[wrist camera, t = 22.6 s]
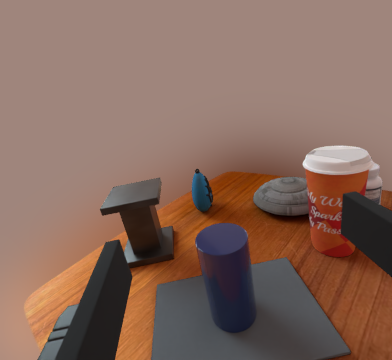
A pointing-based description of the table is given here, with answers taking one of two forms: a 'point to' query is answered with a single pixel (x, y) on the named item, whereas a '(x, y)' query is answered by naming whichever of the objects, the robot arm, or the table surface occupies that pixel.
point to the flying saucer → (283, 196)
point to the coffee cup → (333, 193)
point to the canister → (227, 276)
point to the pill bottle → (374, 184)
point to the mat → (257, 333)
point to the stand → (141, 222)
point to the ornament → (201, 192)
